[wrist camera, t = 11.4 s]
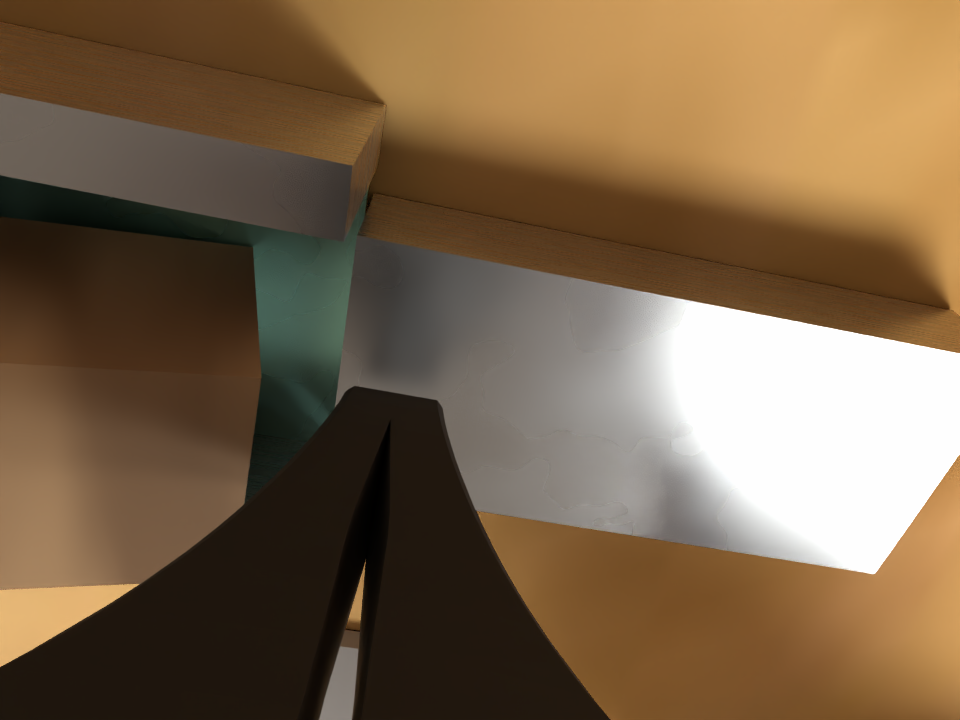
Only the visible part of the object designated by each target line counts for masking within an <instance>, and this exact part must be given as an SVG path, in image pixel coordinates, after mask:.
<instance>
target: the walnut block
mask: <svg viewBox="0 0 960 720" xmlns="http://www.w3.org/2000/svg"><path fill="white" fill-rule="evenodd" d="M260 384H261V363H260V348H259V332H258V317H257V301H256V286H255V270H254V254H253V247H246V246H238V245H229V244H221V243H213V242H205V241H197V240H188V239H180V238H172V237H164V236H156V235H148V234H139V233H131V232H123V231H115V230H107V229H98V228H90V227H82V226H74V225H66V224H58V223H49V222H41V221H33V220H25V219H17V218H8V217H0V590H7V589H29V588H52V587H74V586H96V585H119V584H141V583H142V582H144V581H145V580H147V579H148V578H150V577H151V576H152V575H154V574H155V573H157V572H158V571H159V570H161V569H162V568H164V567H165V566H167V565H168V564H169V563H171V562H172V561H174V560H175V559H176V558H178V557H179V556H181V555H182V554H183V553H185V552H186V551H188V550H189V549H190V548H191V547H193V546H194V545H195V544H197V543H198V542H199V541H200V540H202V539H203V538H204V537H206V536H207V535H208V534H209V533H211V532H212V531H213V530H214V529H216V528H217V527H218V526H219V525H221V524H222V523H223V522H224V521H225V520H227V519H228V518H229V517H230V516H231V515H232V514H234V513H235V512H236V511H237V510H238V509H239V508H241V507H242V506H243V505H244V502H245V494H246V487H247V480H248V472H249V465H250V458H251V450H252V443H253V436H254V428H255V421H256V414H257V406H258V399H259V392H260Z"/></svg>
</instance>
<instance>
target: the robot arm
mask: <svg viewBox="0 0 960 720" xmlns="http://www.w3.org/2000/svg"><path fill="white" fill-rule="evenodd" d="M365 560H366V565H365V577H364V588H363V600H362V612H361V624H360V636H359V648H358V660H357V672H356V684H355V696H354V706H353V714H352V720H610V719H609V718H608V716H607V715H606V714H605V713H604V712H603V710H602V709H601V708H600V707H599V706H598V704H597V703H596V702H595V701H594V699H593V698H592V697H591V695H590V694H589V693H588V691H587V690H586V689H585V687H584V686H583V685H582V683H581V682H580V681H579V679H578V678H577V677H576V675H575V674H574V673H573V671H572V670H571V669H570V667H569V666H568V665H567V663H566V662H565V661H564V659H563V658H562V657H561V655H560V654H559V653H558V651H557V650H556V649H555V647H554V646H553V645H552V643H551V642H550V641H549V639H548V638H547V636H546V635H545V633H544V632H543V630H542V629H541V627H540V626H539V624H538V623H537V621H536V620H535V618H534V616H533V615H532V613H531V612H530V610H529V609H528V607H527V606H526V604H525V603H524V601H523V599H522V598H521V596H520V594H519V593H518V591H517V589H516V588H515V586H514V584H513V583H512V581H511V579H510V577H509V576H508V574H507V572H506V570H505V568H504V567H503V565H502V563H501V561H500V559H499V557H498V555H497V554H496V552H495V550H494V548H493V546H492V544H491V542H490V540H489V538H488V536H487V533H486V531H485V529H484V527H483V525H482V523H481V521H480V519H479V517H478V514H477V512H476V510H475V508H474V505H473V503H472V500H471V498H470V495H469V493H468V490H467V488H466V485H465V483H464V480H463V478H462V475H461V473H460V470H459V467H458V464H457V462H456V459H455V456H454V452H453V449H452V446H451V443H450V439H449V436H448V432H447V428H446V424H445V419H444V413H443V408H442V406H441V405H440V403H439V402H438V401H437V400H434V399H428V398H422V397H416V396H411V395H405V394H399V393H394V392H388V391H382V390H376V389H371V388H365V387H359V386H353V387H352V388H350V389H348V390H346V391H345V393H344V395H343V396H342V398H341V400H340V401H339V403H338V404H337V405H336V407H335V408H334V410H333V411H332V412H331V414H330V415H329V416H328V417H327V419H326V420H325V421H324V422H323V424H322V425H321V426H320V427H319V428H318V430H317V431H316V432H315V433H314V434H313V436H312V437H311V438H310V439H309V440H308V441H307V442H306V443H305V444H304V445H303V446H302V448H301V449H300V450H299V451H298V452H297V453H296V454H295V455H294V456H293V457H292V458H291V460H290V461H289V462H288V463H287V464H286V465H285V466H284V467H283V468H282V469H281V470H280V471H279V472H278V473H277V474H276V475H275V476H274V477H273V478H272V479H271V480H269V481H268V482H267V483H266V484H265V485H264V486H263V487H262V488H261V489H260V490H259V491H258V492H257V493H256V494H255V495H254V496H252V497H251V498H250V499H249V500H248V501H247V502H246V503H245V504H244V505H243V506H242V507H241V508H239V509H238V510H237V511H236V512H235V513H234V514H232V515H231V516H230V517H229V518H228V519H227V520H225V521H224V522H223V523H222V524H221V525H219V526H218V527H217V528H216V529H214V530H213V531H212V532H211V533H209V534H208V535H207V536H206V537H204V538H203V539H202V540H200V541H199V542H198V543H197V544H195V545H194V546H193V547H191V548H190V549H189V550H188V551H186V552H185V553H183V554H182V555H181V556H179V557H178V558H176V559H175V560H174V561H172V562H171V563H169V564H168V565H167V566H165V567H164V568H162V569H161V570H159V571H158V572H157V573H155V574H154V575H152V576H151V577H150V578H148V579H147V580H145V581H144V582H142V583H141V584H140V585H138V586H137V587H135V588H133V589H132V590H130V591H129V592H127V593H126V594H124V595H123V596H121V597H120V598H118V599H117V600H115V601H113V602H112V603H110V604H109V605H107V606H106V607H104V608H102V609H100V610H99V611H97V612H95V613H94V614H92V615H90V616H89V617H87V618H85V619H83V620H82V621H80V622H78V623H77V624H75V625H73V626H72V627H70V628H68V629H66V630H65V631H63V632H61V633H60V634H58V635H56V636H55V637H53V638H51V639H49V640H48V641H46V642H44V643H43V644H41V645H39V646H38V647H36V648H34V649H33V650H31V651H29V652H27V653H25V654H24V655H22V656H20V657H18V658H16V659H14V660H12V661H11V662H9V663H7V664H5V665H3V666H1V667H0V720H319V719H320V715H321V711H322V707H323V703H324V699H325V695H326V692H327V689H328V685H329V682H330V679H331V675H332V672H333V668H334V665H335V662H336V658H337V655H338V652H339V648H340V645H341V641H342V638H343V635H344V631H345V628H346V625H347V621H348V618H349V615H350V611H351V608H352V604H353V601H354V598H355V594H356V591H357V587H358V584H359V581H360V577H361V574H362V570H363V567H364V564H365Z"/></svg>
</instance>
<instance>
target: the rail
mask: <svg viewBox="0 0 960 720" xmlns="http://www.w3.org/2000/svg"><path fill="white" fill-rule="evenodd" d="M385 112H386V105H384V104H379V103H375V102H370V101H366V100H361V99H356V98H352V97H347V96H342V95H338V94H333V93H329V92H324V91H319V90H315V89H310V88H305V87H301V86H296V85H291V84H287V83H282V82H278V81H273V80H268V79H264V78H259V77H254V76H250V75H245V74H241V73H236V72H231V71H227V70H222V69H217V68H213V67H208V66H203V65H199V64H194V63H190V62H185V61H180V60H176V59H171V58H166V57H162V56H157V55H153V54H148V53H143V52H139V51H134V50H129V49H125V48H120V47H115V46H111V45H106V44H102V43H97V42H92V41H88V40H83V39H78V38H74V37H69V36H65V35H60V34H55V33H51V32H46V31H41V30H37V29H32V28H27V27H23V26H18V25H14V24H9V23H4V22H0V217H8V218H17V219H25V220H33V221H41V222H49V223H58V224H66V225H74V226H82V227H90V228H98V229H107V230H115V231H123V232H131V233H139V234H148V235H156V236H164V237H172V238H180V239H188V240H197V241H205V242H213V243H221V244H229V245H238V246H246V247H253V254H254V270H255V286H256V301H257V317H258V332H259V348H260V363H261V384H260V392H259V399H258V406H257V414H256V421H255V428H254V436H253V443H252V450H251V458H250V465H249V472H248V480H247V487H246V494H245V502H244V504H245V503H246V502H247V501H248V500H249V499H250V498H251V497H252V496H254V495H255V494H256V493H257V492H258V491H259V490H260V489H261V488H262V487H263V486H264V485H265V484H266V483H267V482H268V481H269V480H271V479H272V478H273V477H274V476H275V475H276V474H277V473H278V472H279V471H280V470H281V469H282V468H283V467H284V466H285V465H286V464H287V463H288V462H289V461H290V460H291V458H292V457H293V456H294V455H295V454H296V453H297V452H298V451H299V450H300V449H301V448H302V446H303V445H304V444H305V443H306V442H307V441H308V440H309V439H310V438H311V437H312V436H313V434H314V433H315V432H316V431H317V430H318V428H319V427H320V426H321V425H322V424H323V422H324V421H325V420H326V419H327V417H328V416H329V415H330V414H331V412H332V411H333V410H334V408H335V407H336V405H337V404H338V403H339V401H340V400H341V398H342V396H343V395H344V393H345V391H346V390H348V389H350V388H352V387H353V386H359V387H365V388H371V389H376V390H382V391H388V392H394V393H399V394H405V395H411V396H416V397H422V398H428V399H434V400H437V401H438V402H439V403H440V405H441V406H442V408H443V413H444V419H445V424H446V428H447V432H448V436H449V439H450V443H451V446H452V449H453V452H454V456H455V459H456V462H457V464H458V467H459V470H460V473H461V475H462V478H463V480H464V483H465V485H466V488H467V490H468V493H469V495H470V498H471V500H472V503H473V505H474V508H475V510H476V511H481V512H487V513H493V514H500V515H506V516H512V517H519V518H525V519H531V520H537V521H544V522H550V523H556V524H563V525H569V526H575V527H582V528H588V529H594V530H600V531H607V532H613V533H619V534H626V535H632V536H638V537H644V538H651V539H657V540H663V541H670V542H676V543H682V544H688V545H695V546H701V547H707V548H714V549H720V550H726V551H732V552H739V553H745V554H751V555H758V556H764V557H770V558H776V559H783V560H789V561H795V562H802V563H808V564H814V565H820V566H827V567H833V568H839V569H846V570H852V571H858V572H864V573H871V574H875V573H876V571H877V570H878V569H879V567H880V566H881V564H882V563H883V562H884V560H885V559H886V557H887V556H888V554H889V553H890V552H891V550H892V549H893V547H894V546H895V544H896V543H897V542H898V540H899V539H900V537H901V536H902V535H903V533H904V532H905V530H906V529H907V527H908V526H909V525H910V523H911V522H912V520H913V519H914V518H915V516H916V515H917V513H918V512H919V510H920V509H921V508H922V506H923V505H924V503H925V502H926V500H927V499H928V498H929V496H930V495H931V493H932V492H933V491H934V489H935V488H936V486H937V485H938V483H939V482H940V481H941V479H942V478H943V476H944V475H945V473H946V472H947V471H948V469H949V468H950V466H951V465H952V464H953V462H954V461H955V459H956V458H957V456H958V455H959V454H960V316H959V315H958V314H957V313H955V312H954V311H953V310H948V309H943V308H938V307H933V306H928V305H923V304H918V303H913V302H908V301H903V300H898V299H893V298H888V297H884V296H879V295H874V294H869V293H864V292H859V291H854V290H849V289H844V288H839V287H834V286H829V285H824V284H819V283H814V282H810V281H805V280H800V279H795V278H790V277H785V276H780V275H775V274H770V273H765V272H760V271H755V270H750V269H745V268H740V267H736V266H731V265H726V264H721V263H716V262H711V261H706V260H701V259H696V258H691V257H686V256H681V255H676V254H671V253H666V252H662V251H657V250H652V249H647V248H642V247H637V246H632V245H627V244H622V243H617V242H612V241H607V240H602V239H597V238H593V237H588V236H583V235H578V234H573V233H568V232H563V231H558V230H553V229H548V228H543V227H538V226H533V225H528V224H523V223H519V222H514V221H509V220H504V219H499V218H494V217H489V216H484V215H479V214H474V213H469V212H464V211H459V210H454V209H449V208H445V207H440V206H435V205H430V204H425V203H420V202H415V201H410V200H405V199H400V198H395V197H390V196H385V195H380V194H375V193H374V195H373V198H372V200H371V203H370V205H369V207H368V210H367V212H366V208H367V200H368V193H369V185H370V182H371V180H372V178H373V176H374V173H375V171H376V169H377V167H378V163H379V156H380V148H381V141H382V134H383V126H384V119H385Z"/></svg>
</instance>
